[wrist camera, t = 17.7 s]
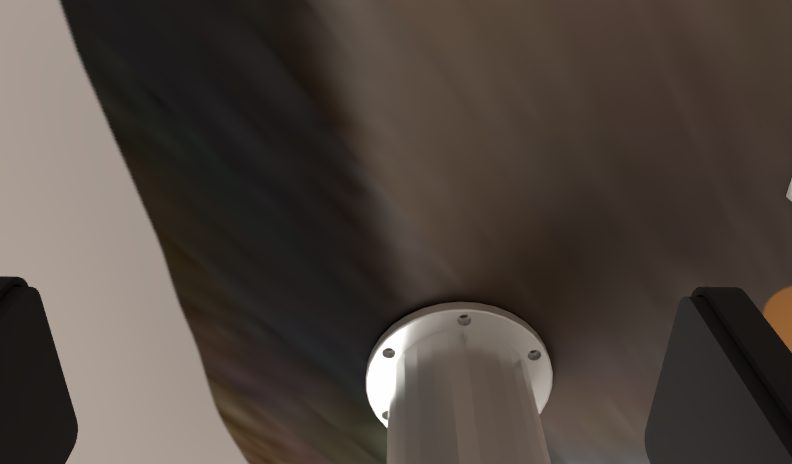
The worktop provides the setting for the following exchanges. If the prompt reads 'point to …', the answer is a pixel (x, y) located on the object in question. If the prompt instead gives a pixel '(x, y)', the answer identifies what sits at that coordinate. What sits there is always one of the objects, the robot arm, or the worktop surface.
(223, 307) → the worktop surface
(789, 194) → the housing
